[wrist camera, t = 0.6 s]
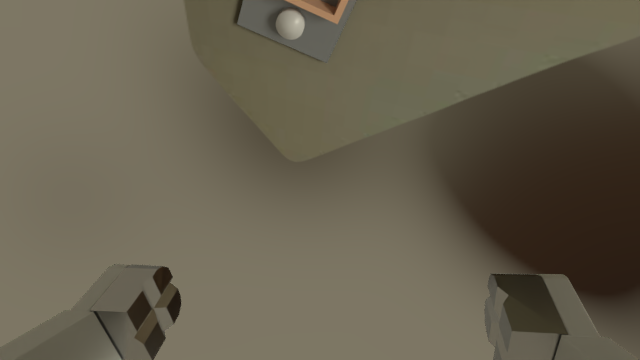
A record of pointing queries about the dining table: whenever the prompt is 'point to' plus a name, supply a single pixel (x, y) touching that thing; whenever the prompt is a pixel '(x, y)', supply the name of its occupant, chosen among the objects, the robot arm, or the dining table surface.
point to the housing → (298, 23)
